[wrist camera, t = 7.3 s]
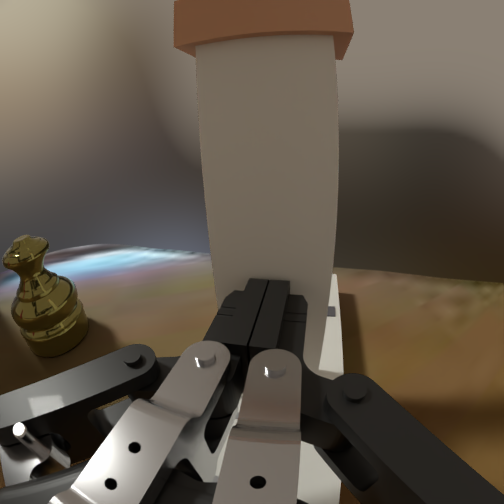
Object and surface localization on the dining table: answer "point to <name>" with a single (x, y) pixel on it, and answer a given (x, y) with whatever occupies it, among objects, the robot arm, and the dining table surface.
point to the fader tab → (269, 141)
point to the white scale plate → (311, 464)
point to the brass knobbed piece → (44, 300)
